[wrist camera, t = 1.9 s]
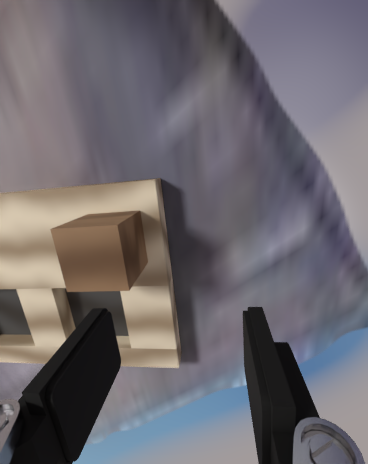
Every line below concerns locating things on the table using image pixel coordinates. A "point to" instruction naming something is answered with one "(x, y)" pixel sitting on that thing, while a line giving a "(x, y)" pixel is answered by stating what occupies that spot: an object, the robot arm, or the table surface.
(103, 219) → the walnut cube
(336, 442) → the robot arm
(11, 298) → the board
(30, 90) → the table surface
